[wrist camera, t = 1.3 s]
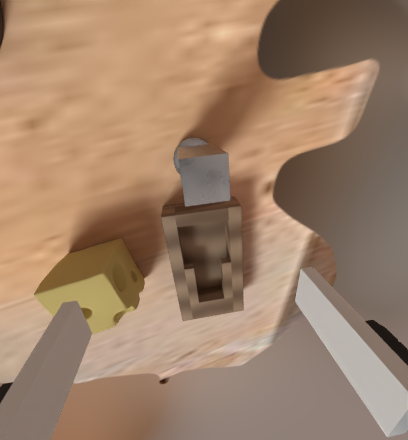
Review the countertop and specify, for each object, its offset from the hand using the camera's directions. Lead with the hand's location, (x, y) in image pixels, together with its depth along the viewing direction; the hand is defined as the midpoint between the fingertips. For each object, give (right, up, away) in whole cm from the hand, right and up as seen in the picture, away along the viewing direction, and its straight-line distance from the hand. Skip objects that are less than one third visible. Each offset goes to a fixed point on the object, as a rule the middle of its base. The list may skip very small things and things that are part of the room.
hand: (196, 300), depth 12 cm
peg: (-1, +14, +19) cm, 24 cm away
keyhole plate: (+1, -2, +27) cm, 27 cm away
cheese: (-17, -4, +25) cm, 31 cm away
